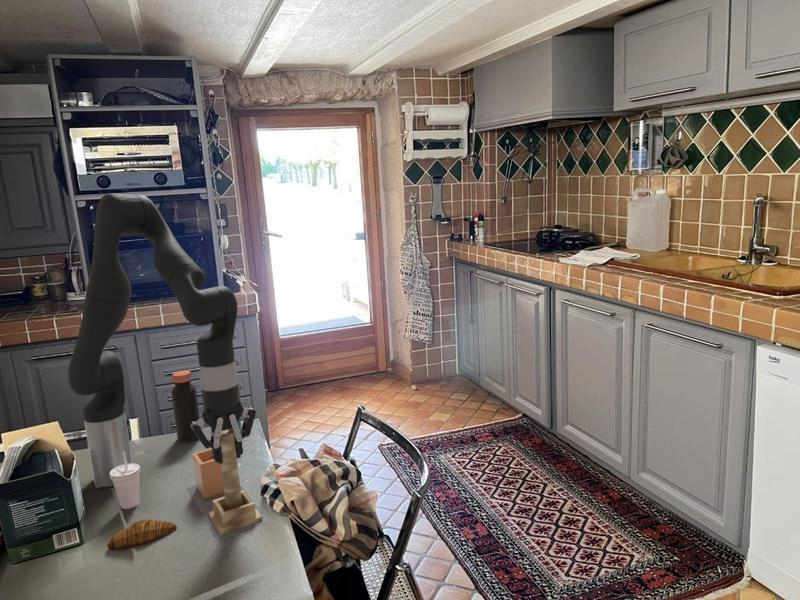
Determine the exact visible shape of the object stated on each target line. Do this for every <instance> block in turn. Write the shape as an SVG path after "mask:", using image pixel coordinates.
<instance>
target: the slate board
mask: <svg viewBox="0 0 800 600" xmlns="http://www.w3.org/2000/svg"><path fill="white" fill-rule="evenodd" d="M240 488H241V491H243V490H244V491H245V489H244V488H243V486H242V485H241V484H240ZM186 489H187V491H188V493H189V494H190V496H191V498H192V500H193V501H194V503H195V505H196V506H197V508H198V509H199V511H200V513H201V515H202V517H203V518H204V520H205V521H206V523H207V524H208V526H209V528H210V530H211V531H212V533H213V535H214V536H215V538H216V539H217V541H218V542H219V541H222V540H224V539H227V538H230V537H232V536H236V535H237V534H240V533H243V532H246V531H248V530H251V529H254V528H257V527H259V526H261V525H265V524H266V523H269V522H270V520H269V519H268V517H267V516H266V515H265V514H264V513H263V512H262V511H261V509H260V508H259V507H258V505H257V504H256V503H255V502H254V500H253V499H252V498H251V496H250V495H249V494H248V493H247V491H245V492H246V493H247V495H248V496H249V497H250V498H251V500H252V501H253V502H254V503H255V508H256V509H257V511H258V512H259V513H260V514H261V516H262V520H261V521H258V522H255V523H253V524H250V525H247V526H245V527H242V528H239V529H236V530H234V531H231V532H228V533H226V534H223V535H220V533H219V531H218V530H217V528H216V527H215V525H214V523H213V522H212V520H211V518H210V517H209V513H208V512H211V511H214V507H213V500H216V499H219V498H222V497H225V494H223V495H220V496H217V497H214V498H211V499H208V500H204V499H203V497H202V496H201V494H200V492H199V491H198V489H197V486H196V485H192V486H190V487H187V488H186Z"/></svg>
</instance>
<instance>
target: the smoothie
mask: <svg viewBox="0 0 800 600" xmlns="http://www.w3.org/2000/svg"><path fill="white" fill-rule="evenodd" d="M123 457H124V463H125V464H124V465H120V466H118V467H116V468H114V469H112V470H111V471H110V479H112V481H113V483H112V484H113V488H114V490H115V492H116V493H115V494H116V496H117V499H118V502H119V504H120V508H121V509H124V510H129V509H133V508H135V507H136V506H139V504H140V473H141V466H140V465H139V464H138V463H135V462H134V463H129V464H127V459H126V452H123Z"/></svg>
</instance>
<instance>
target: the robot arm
mask: <svg viewBox="0 0 800 600" xmlns="http://www.w3.org/2000/svg"><path fill="white" fill-rule="evenodd" d="M94 224H95V225H94V236H93V237H94V238H93V250H92V259H91V260H92V261H91V265H90V271H89V278H88V282H87V286H86V292H85V296H84V301H83V309H82V316H81V322H80V327H79V330H78V331H79V332H78V335H77V338H76V343H75V345H74V349H73V352H72V354H71V358H70V361H69V364H68V371H67V376H68V377H67V378H68V384H69V386H70V388H71V390H72V392H74V393H75V394H76V395H79V396H82V397H84V396H85V397H86V396H90V395H93V394H94V396H93V397H92V399H90V401H89V402H88V403H87V404H86V405H84V407H83V409H82V417H83V423H84V428H85V429H84V430H85V434H86V435H85V436H86V440H87V449H88V451H87V452H88V455H89V462H90V468H91V474H92V480H93V482H94V486H95V489H100V488H109V487H110V488H111V487H114V484H113V481H112V479H110V471H111V470H112V469H114V468H116V467H118V466H120V465H124V464H125V463H124V457H123V452H126V459H127V464H129V463H133V457H132V451H131V444H130V437H129V429H128V425H127V423H128V422H127V418H126V411H125V403H126V398H127V397H126V389H125V388H126V387H125V378H124V377H125V376H124V369H123V365H122V363H121V360H120V358H119V356H118V355H117V354H116V353H115V352H114V351H111V350H104V349H105V347H106V345H107V344H108V342H109V341H110V339H111V338H112V337H113V335H114V334H115V333H116V332H117V330H118V328H119V327H120V326H121V324H123V321H124V320H125V319H126V317H127V313H128V310H129V306H130V301H131V296H132V284H131V282H130V279H129V277H128V276H127V273H126V272H125V270H124V268H123V266H122V264H121V261H120V258H119V245H120V240H121V238H122V237H133V236H134V237H135V236H136V237H138V236H142V237H144V238H146V239H147V241H149V242H150V243H151V244H152V246H153V263H154V266H155V270H156V272H157V273H158V275H159V276H160V277H161V278H162V279H163V281H164V282H165V283H166V284H167V286H169V287H170V289H172V291H173V293H174V296H175V297H176V299H177V301H178V304H179V307H180V309H181V313H182V314H183V316H184V318H185V320H186V321H187V322H189V323H191V325H193V326H198V327H202V326H208V325H211V328H210V329H209V331H207V332H206V333H204V334H203V335H201V336H200V337H198V339H197V341H196V348H197V349H196V350H197V357H198V365H199V367H198V368H199V369H198V370H199V371H198V372H199V373H198V375H199V384H200V393H201V401H202V408H203V411H202V415H201V417H200V419H199V420H197V421H196V422H195V421H192V422H191V423H190V426H191V427H192V429H193V431H194V432H195V434H196V435H197V437H198V438H199V439H198V440H199V441H200V443H201V445H203V447H204V448H205V449H211V448H212V453H213V459H214V460H215V461H216V462H218V464H221V463H222V454H221V447H220V446H219V444H220V438H221V432H222V431H224V430H226V429H231V430H232V431H233V433H234V436H235V445H236V454H237V460H238V459H240V458H242V455H243V454H244V449H243V440H244V439H245V438H247V437H249V436H250V435H251V432H252V428H253V426H254V425H253V424H254V421H255V418H256V414H257V411H256V409H254V408H253V407H252V406H248V407H244V406H243V405H242V402H241V395H240V394H241V392H240V386H239V374H238V368H237V365H236V360H235V350H234V343H233V341H234V336H235V335H234V334H235V329H236V322H237V317H238V316H237V315H238V301H237V298H236V295H235V294H234V292H233V291H232V289H230V288H229V287H227V286H225V285H219V286H213V287H209V288H204V286H205V284H206V280H207V278H206V275H205V273H204V271H203V270H202V269H201V268H200V267H199V265H198V264H197V263H196V262H195V261H194V260H193V259H192V257H191V256H189V255H188V254H187V252H186V251H185V250H184V249H183V248H182V246H181V245H180V243H179V242H178V241H177V239H176V238H175V236H174V234H173V233H172V230H171V229H170V227H169V226H168V224H167V223H166V220H165V219H164V217H163V216H162V214H161V212H160V211H159V209H158V208H157V206H156V205H155V203H154V202H153V201H152V200H151V199H150V198H148V197H147V196H146V195H143V194H137V193H106V194H104V195H102V197H101V198H100V199H99V202H98V203H97V208H96V214H95V223H94ZM203 288H204V289H203ZM241 416H243V422H242V424H241V431H240V429H239V426H238V424H237V423H238V421H239V419H240V420H241ZM204 424H206V425H207V426H208V427H210V439H208V438H207V437H206V435H205V434H204V432H203V431H204V429H205V426H204Z"/></svg>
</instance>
